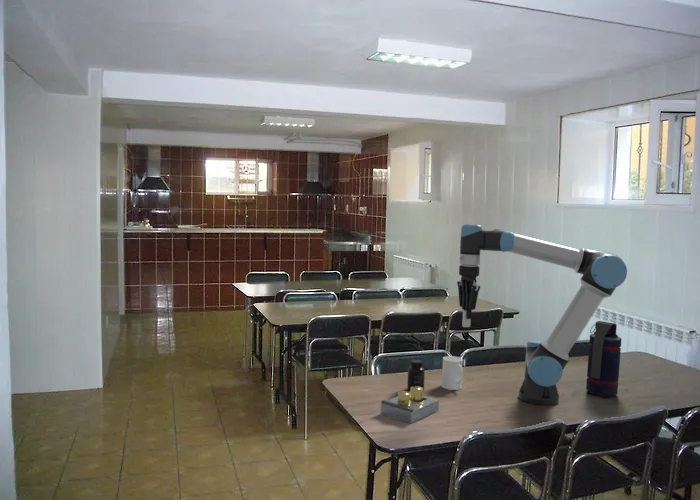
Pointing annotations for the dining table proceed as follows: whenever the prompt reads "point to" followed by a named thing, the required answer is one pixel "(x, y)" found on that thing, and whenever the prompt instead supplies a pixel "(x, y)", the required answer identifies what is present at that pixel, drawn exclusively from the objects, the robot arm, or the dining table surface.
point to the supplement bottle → (415, 374)
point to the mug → (452, 373)
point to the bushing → (416, 393)
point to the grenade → (603, 360)
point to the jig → (408, 407)
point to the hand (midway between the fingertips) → (466, 326)
